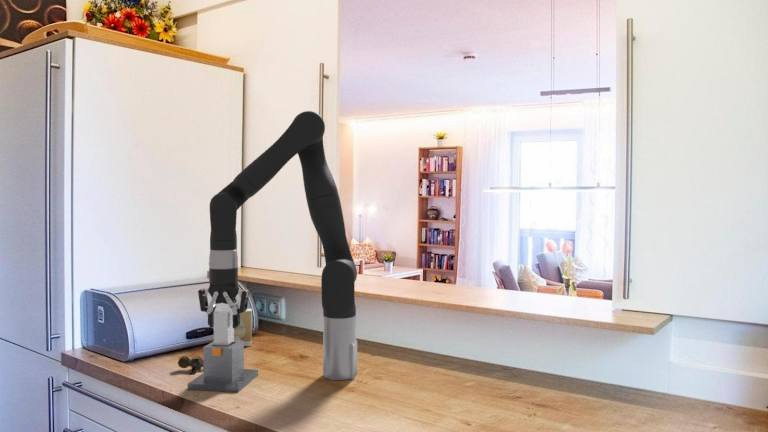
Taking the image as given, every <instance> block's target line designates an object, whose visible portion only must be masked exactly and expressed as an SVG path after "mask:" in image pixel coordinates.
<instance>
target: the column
mask: <svg viewBox="0 0 768 432" xmlns="http://www.w3.org/2000/svg"><path fill="white" fill-rule="evenodd" d="M233 315H234V314H233V312H232V310H231V308H230V309H229V308H227V309H226V308H220V309H217V310H215V311H214V327H213V341H214V346H225V347H229V346H231V345H232V344H234V328H233Z"/></svg>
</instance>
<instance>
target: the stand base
mask: <svg viewBox="0 0 768 432" xmlns="http://www.w3.org/2000/svg"><path fill="white" fill-rule="evenodd" d="M244 348H245V346H244V341H239V340H234V344H232V345H231V346H229V347H225V346H214V340H212V341H211V342H210V343H208V344H207V345H204V346H203V357H202V358H203V360H204V367H203V373H201V374H200V375H198V376H197V377H196V378H194V379H192V380H191V381H189V382H188V383H187V390H189V391H190V390H192V391H195V390H196V391H209V392H211V391H213V392H214V391H215V392H228V393H239V392H240V391H241V390H243V388H245V387H246V386H247V385H249V383H251V382H252V381H253V380H254V379H256V377H258V376H259V369H251V368H250V369H248V368H245V351H244V350H245V349H244Z"/></svg>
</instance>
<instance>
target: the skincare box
mask: <svg viewBox="0 0 768 432" xmlns="http://www.w3.org/2000/svg"><path fill="white" fill-rule="evenodd" d="M252 325H253V309H252V308H247V310H246V311H244V312H243V313H241V314H240V325H239V326H238V327H237V328H234V340H239V341H244V347H251V346H252V330H253V329H252V328H253V327H252Z"/></svg>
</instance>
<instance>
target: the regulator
mask: <svg viewBox="0 0 768 432" xmlns="http://www.w3.org/2000/svg"><path fill="white" fill-rule="evenodd" d="M177 365H178V367H180V368H182V369H187V368H188V367H190V368H191V369H190V372H189V375H190V376H191V375H195V374H196V373H197V372H198V371H199V370H201V368H204V357H202V356H200V355H196V356H194V357H192V358H189V356H187V355H186V356H181V357H180V358H179V359H178V361H177ZM197 370H198V371H197Z"/></svg>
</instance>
